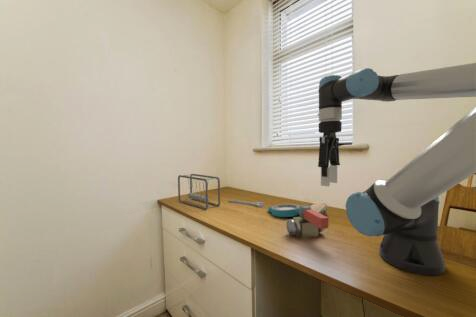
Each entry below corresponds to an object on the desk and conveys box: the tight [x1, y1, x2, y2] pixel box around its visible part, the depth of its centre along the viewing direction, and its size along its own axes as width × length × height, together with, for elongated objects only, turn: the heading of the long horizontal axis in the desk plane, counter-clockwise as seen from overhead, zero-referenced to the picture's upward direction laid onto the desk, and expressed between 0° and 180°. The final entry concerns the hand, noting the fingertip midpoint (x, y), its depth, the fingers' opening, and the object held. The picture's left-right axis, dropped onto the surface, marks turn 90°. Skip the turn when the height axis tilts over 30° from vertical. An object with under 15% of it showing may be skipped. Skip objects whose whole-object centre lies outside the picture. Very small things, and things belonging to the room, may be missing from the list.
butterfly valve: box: [267, 201, 328, 218], centre depth 104 cm, size 27×7×30 cm
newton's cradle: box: [177, 173, 221, 210], centre depth 128 cm, size 30×10×18 cm, turn 47°
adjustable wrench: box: [228, 199, 265, 208], centre depth 128 cm, size 25×6×2 cm, turn 56°
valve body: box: [285, 216, 326, 240], centre depth 82 cm, size 13×7×7 cm, turn 103°
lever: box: [299, 205, 329, 230], centre depth 77 cm, size 14×4×4 cm, turn 13°
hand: (329, 184), depth 75 cm, fingers open, 8 cm apart
